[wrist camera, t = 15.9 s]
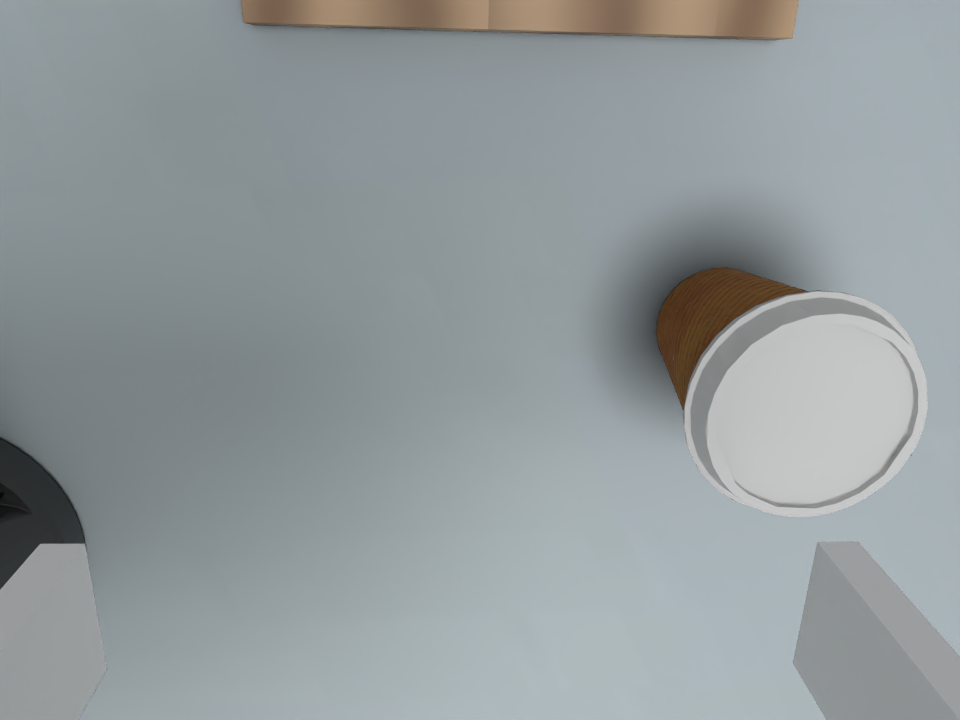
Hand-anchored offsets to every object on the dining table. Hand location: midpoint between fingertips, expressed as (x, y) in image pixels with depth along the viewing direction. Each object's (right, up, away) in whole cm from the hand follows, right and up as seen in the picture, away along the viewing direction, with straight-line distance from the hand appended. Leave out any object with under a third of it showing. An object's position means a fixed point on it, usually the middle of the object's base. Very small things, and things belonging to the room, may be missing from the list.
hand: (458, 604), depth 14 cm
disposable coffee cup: (+13, +6, +27) cm, 30 cm away
